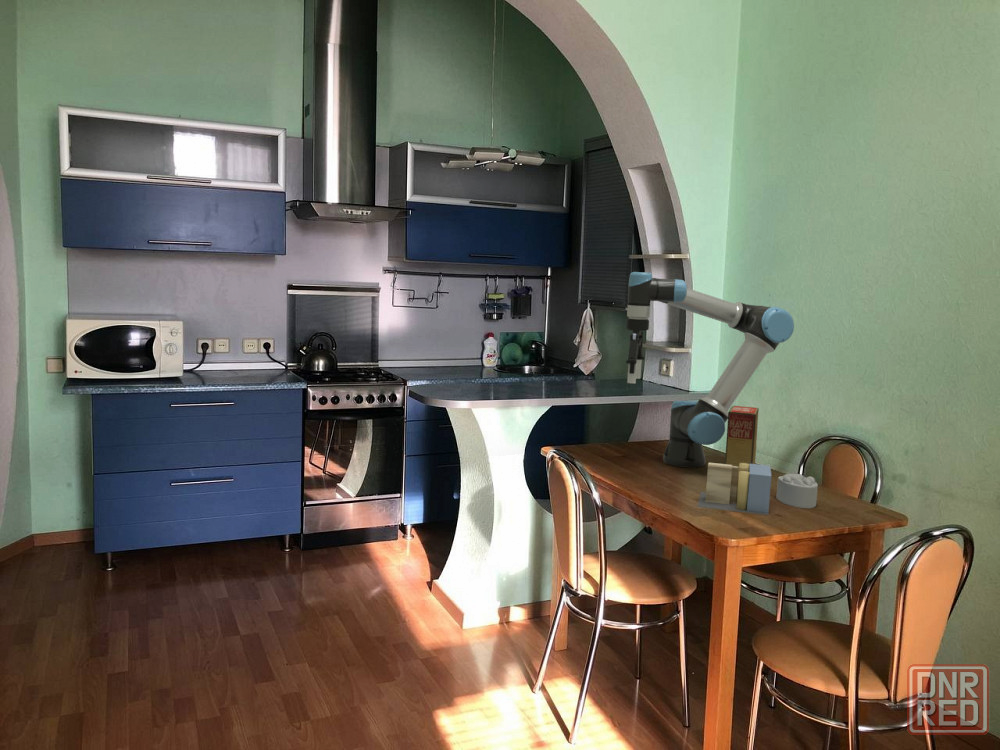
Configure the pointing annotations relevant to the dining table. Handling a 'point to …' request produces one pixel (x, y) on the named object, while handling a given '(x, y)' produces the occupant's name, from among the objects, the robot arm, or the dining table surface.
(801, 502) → the lumpy-topped squat cylinder
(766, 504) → the fixed leaf
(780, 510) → the dining table surface
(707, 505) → the mat
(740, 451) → the food packaging
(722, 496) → the beige block
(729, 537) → the dining table surface
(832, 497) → the dining table surface
